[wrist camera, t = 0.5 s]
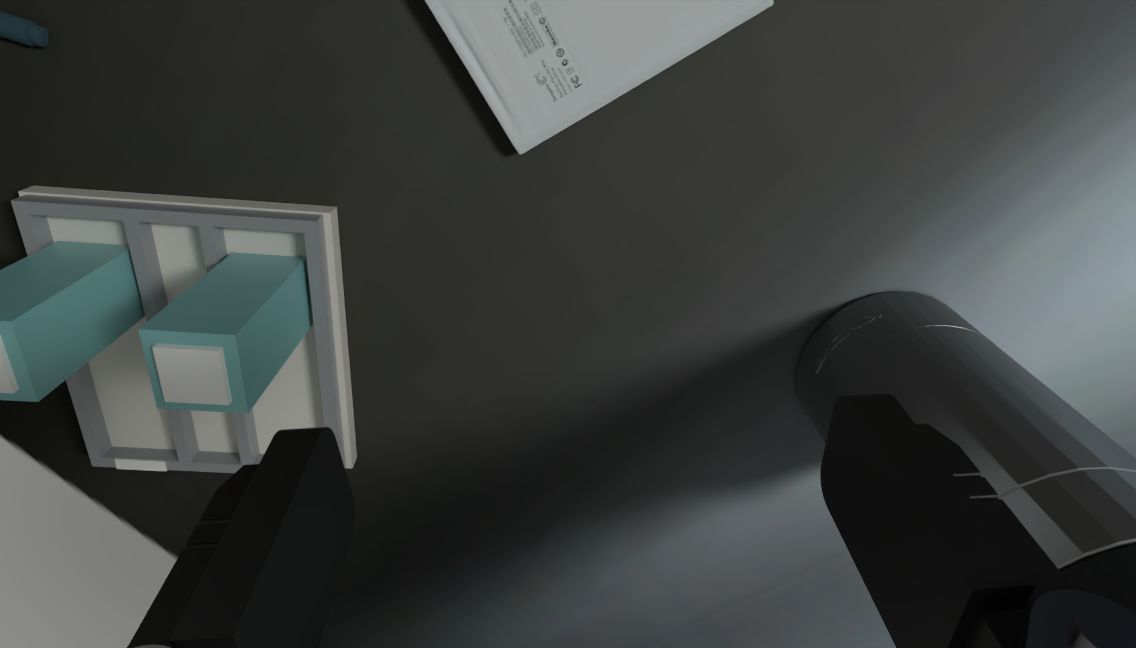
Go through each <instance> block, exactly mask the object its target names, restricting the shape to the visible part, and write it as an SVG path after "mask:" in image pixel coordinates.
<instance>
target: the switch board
mask: <svg viewBox="0 0 1136 648" xmlns="http://www.w3.org/2000/svg"><path fill="white" fill-rule="evenodd" d="M18 193H19V196H20V197H18V198H16V199H13V200H11V203H12V207H13V210H14V213H15V216H16V220H17V223H18V226H19V229H20V233H21V236H22V239H23V242H24V246H25V249H26V252H27V255H28V256H29V255H31V254H33V253H35V252H37V251H39V250H41V249H43V248H45V247H47V246H49V245H51V244H53V243H55V242H57V241H69V242H85V243H100V244H115V245H129V248H130V252H131V257H132V261H133V265H134V270H135V274H136V278H137V283H138V287H139V291H140V295H141V300H142V304H143V308H144V313H145V317H144V318H142V319H141V320H140V321H139V322H137V323H136V324H135V325H134V326H132V327H131V328H130V329H129V330H127V331H126V332H125V333H124V334H122V335H121V336H120V337H119V338H117V339H116V340H115V341H114V342H112V343H111V344H110V345H109V346H107V347H106V348H105V349H104V350H102V351H101V352H100V353H99V354H97V355H96V356H95V357H94V358H92V359H91V360H90V361H89V362H87V363H86V364H85V365H84V366H82V367H81V368H80V369H79V370H77V371H76V372H75V373H74V374H72V375H71V376H70V377H69V378H67V379H66V382H67V386H68V389H69V392H70V395H71V399H72V402H73V405H74V409H75V412H76V415H77V418H78V422H79V425H80V428H81V431H82V435H83V438H84V441H85V444H86V448H87V451H88V454H89V457H90V461H91V464H92V466H99V467H116V468H117V469H129V470H149V471H167V470H181V471H201V472H222V473H236V472H237V471H238V470H239V469H240V468H241V467H242V466H243V465H251V464H259V463H260V461H261V460H262V458H263V456H264V454H265V452H266V450H267V448H268V446H269V444H270V442H271V440H272V438H273V436H274V435H275V434H276V432H277V431H279V430H283V429H301V428H318V427H329V428H331V429H332V431H333V432H334V434H335V437H336V440H337V444H338V447H339V451H340V454H341V457H342V461H343V464H344V468H353V466H354V463H355V461H356V458H357V451H356V439H355V426H354V414H353V402H352V389H351V377H350V365H349V352H348V340H347V327H346V315H345V303H344V290H343V278H342V266H341V253H340V241H339V229H338V216H337V207H333V206H318V205H304V204H290V203H275V202H261V201H246V200H232V199H218V198H203V197H189V196H174V195H160V194H146V193H131V192H117V191H102V190H88V189H74V188H59V187H45V186H31V187H29V188H26V189H23V190H21V191H18ZM232 252H234V253H249V254H265V255H280V256H295V257H307V267H308V276H309V285H310V295H311V304H312V314H313V325H312V326H311V327H310V329H309V330H308V332H307V333H306V334H305V336H304V337H303V338H302V340H301V341H300V343H299V344H298V345H297V347H296V348H295V350H294V351H293V352H292V354H291V355H290V356H289V358H288V359H287V361H286V362H285V363H284V365H283V366H282V368H281V369H280V370H279V372H278V373H277V375H276V376H275V377H274V379H273V380H272V381H271V383H270V384H269V386H268V387H267V388H266V390H265V391H264V393H263V394H262V395H261V397H260V398H259V399H258V401H257V402H256V404H255V405H254V406H253V408H252V409H251V411H250V412H249V413H231V412H213V411H194V410H175V409H157V406H156V401H155V397H154V393H153V389H152V385H151V381H150V376H149V372H148V368H147V364H146V360H145V356H144V351H143V347H142V343H141V339H140V335H139V330H138V329H139V328H141V327H142V326H143V325H144V324H145V323H147V322H148V321H149V320H150V319H152V318H153V317H154V316H155V315H156V314H158V313H159V312H160V311H161V310H163V309H164V308H165V307H166V306H167V305H169V304H170V303H171V302H172V301H174V300H175V299H176V298H177V297H178V296H180V295H181V294H182V293H183V292H185V291H186V290H187V289H188V288H189V287H191V286H192V285H193V284H194V283H196V282H197V281H198V280H199V279H200V278H202V277H203V276H204V275H205V274H207V273H208V272H209V271H210V270H211V269H213V268H214V267H215V266H216V265H218V264H219V263H220V262H221V261H222V260H224V259H225V258H226V257H227V256H229V255H230V254H231V253H232Z"/></svg>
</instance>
